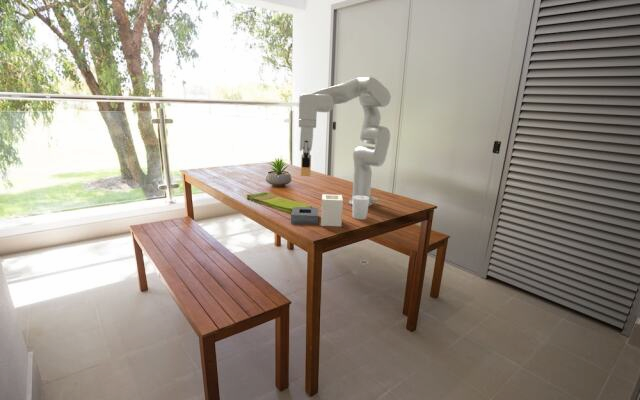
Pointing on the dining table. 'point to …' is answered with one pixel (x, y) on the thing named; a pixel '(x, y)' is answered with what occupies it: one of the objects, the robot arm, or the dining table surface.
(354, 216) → the white cup
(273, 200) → the dish towel
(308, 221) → the lower socket plate
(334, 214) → the upper stand
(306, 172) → the plug
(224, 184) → the dining table surface
